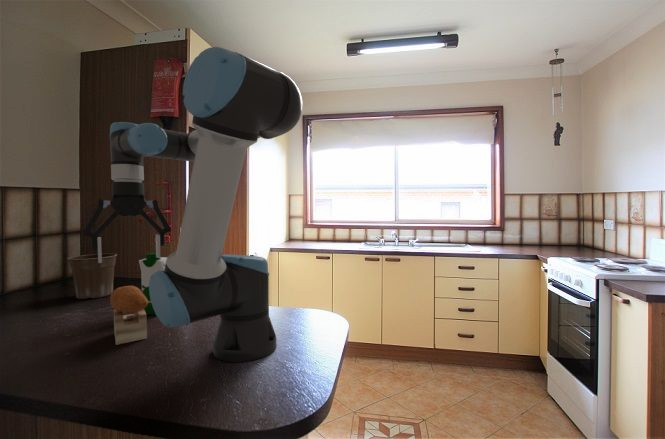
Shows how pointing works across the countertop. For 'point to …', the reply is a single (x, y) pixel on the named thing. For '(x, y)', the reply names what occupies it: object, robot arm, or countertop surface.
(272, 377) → the countertop surface
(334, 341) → the countertop surface
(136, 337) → the cradle
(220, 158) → the robot arm
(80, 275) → the plant pot
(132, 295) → the potato
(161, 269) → the milk carton
